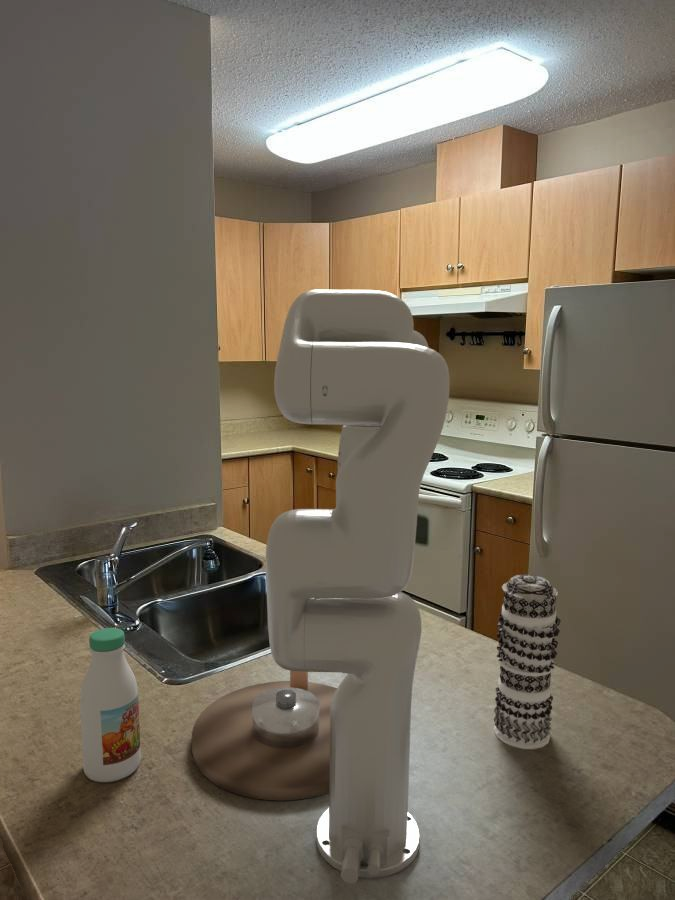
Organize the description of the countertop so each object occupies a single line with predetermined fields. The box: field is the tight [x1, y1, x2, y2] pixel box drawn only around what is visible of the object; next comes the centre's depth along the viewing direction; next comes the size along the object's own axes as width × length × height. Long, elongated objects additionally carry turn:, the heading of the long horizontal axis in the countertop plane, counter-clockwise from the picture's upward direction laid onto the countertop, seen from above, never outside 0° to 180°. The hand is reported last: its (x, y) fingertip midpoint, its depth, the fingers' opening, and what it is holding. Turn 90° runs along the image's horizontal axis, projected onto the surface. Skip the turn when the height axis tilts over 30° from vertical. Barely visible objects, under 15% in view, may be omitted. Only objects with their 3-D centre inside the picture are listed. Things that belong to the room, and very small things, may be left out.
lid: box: [252, 687, 319, 748], centre depth 100 cm, size 10×10×6 cm
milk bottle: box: [80, 627, 142, 783], centre depth 93 cm, size 8×8×20 cm
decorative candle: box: [493, 574, 562, 750], centre depth 102 cm, size 9×9×25 cm
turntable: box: [191, 670, 338, 801], centre depth 101 cm, size 28×28×6 cm
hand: (365, 524), depth 114 cm, fingers closed
